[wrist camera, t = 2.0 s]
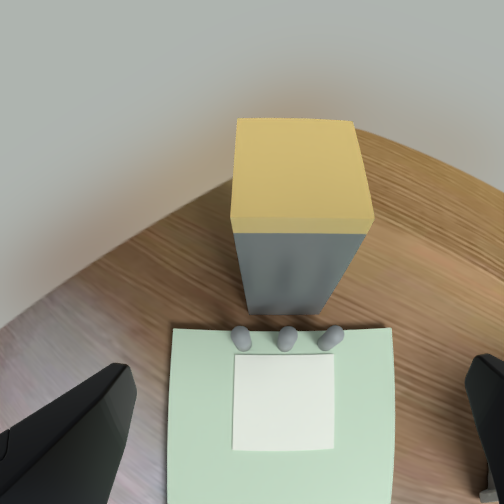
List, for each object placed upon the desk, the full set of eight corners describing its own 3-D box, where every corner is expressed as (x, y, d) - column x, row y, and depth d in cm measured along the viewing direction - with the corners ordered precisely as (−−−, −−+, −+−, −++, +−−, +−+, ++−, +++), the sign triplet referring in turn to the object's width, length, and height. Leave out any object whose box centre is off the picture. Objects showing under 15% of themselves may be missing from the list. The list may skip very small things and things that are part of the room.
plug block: (318, 314, 20) (374, 219, 10) (249, 314, 21) (230, 217, 10) (315, 251, 22) (352, 121, 12) (250, 251, 23) (237, 118, 12)
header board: (383, 534, 13) (402, 553, 10) (171, 538, 14) (155, 559, 11) (388, 329, 20) (409, 316, 16) (175, 330, 20) (159, 317, 17)
